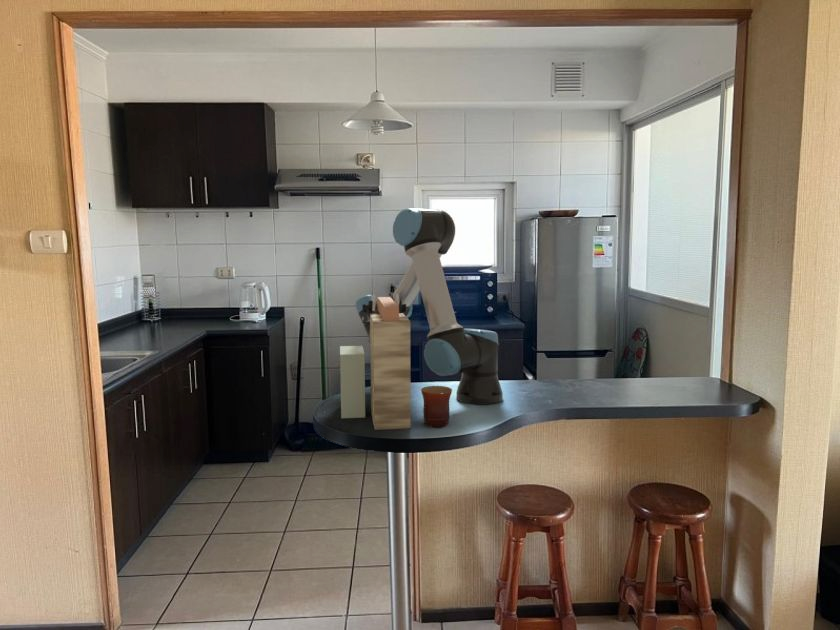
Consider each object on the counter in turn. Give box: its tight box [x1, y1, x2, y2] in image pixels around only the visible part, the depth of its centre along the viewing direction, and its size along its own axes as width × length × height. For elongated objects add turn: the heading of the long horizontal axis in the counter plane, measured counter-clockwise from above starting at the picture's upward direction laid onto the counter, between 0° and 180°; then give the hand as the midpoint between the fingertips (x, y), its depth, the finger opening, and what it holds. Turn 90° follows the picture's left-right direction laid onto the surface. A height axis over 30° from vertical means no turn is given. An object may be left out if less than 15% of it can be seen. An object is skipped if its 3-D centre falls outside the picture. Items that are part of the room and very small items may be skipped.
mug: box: [420, 385, 453, 429], centre depth 171 cm, size 12×9×10 cm
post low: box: [339, 345, 366, 419], centre depth 182 cm, size 14×7×19 cm, turn 8°
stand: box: [369, 313, 412, 431], centre depth 173 cm, size 18×10×30 cm, turn 8°
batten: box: [376, 296, 399, 321], centre depth 177 cm, size 28×4×4 cm, turn 8°
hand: (386, 298), depth 181 cm, fingers open, 6 cm apart
